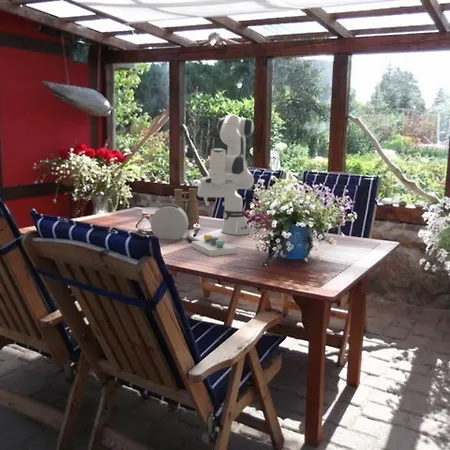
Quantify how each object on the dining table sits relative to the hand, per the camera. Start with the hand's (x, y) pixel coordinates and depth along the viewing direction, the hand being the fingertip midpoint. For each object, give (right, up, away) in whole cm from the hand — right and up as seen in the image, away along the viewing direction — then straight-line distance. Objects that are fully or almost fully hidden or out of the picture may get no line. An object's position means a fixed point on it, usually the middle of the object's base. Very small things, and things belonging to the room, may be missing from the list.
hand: (215, 205), depth 280 cm
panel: (-1, -24, +6) cm, 24 cm away
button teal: (+2, -23, -1) cm, 23 cm away
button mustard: (-5, -21, +11) cm, 24 cm away
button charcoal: (-1, -22, +5) cm, 23 cm away
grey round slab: (-28, -18, +33) cm, 46 cm away
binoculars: (-21, -12, +63) cm, 68 cm away
